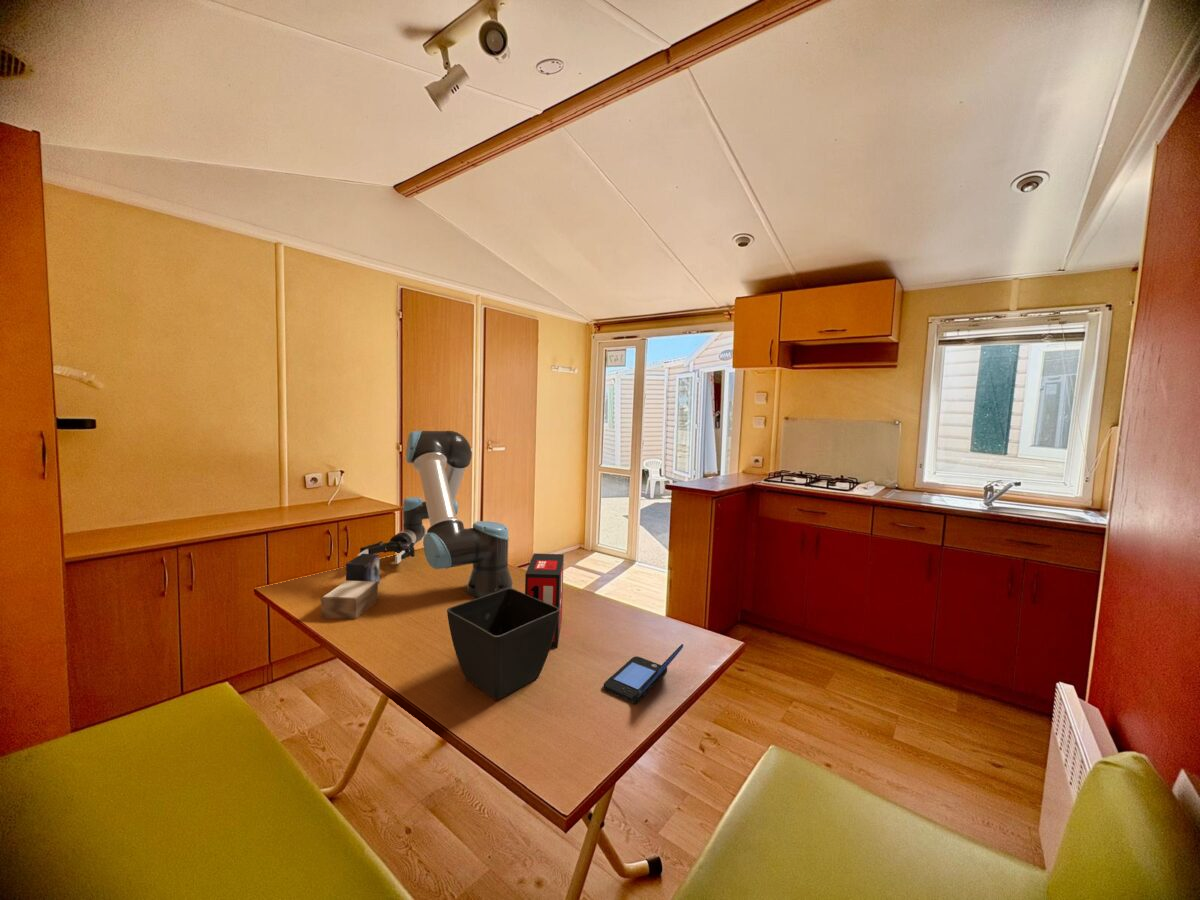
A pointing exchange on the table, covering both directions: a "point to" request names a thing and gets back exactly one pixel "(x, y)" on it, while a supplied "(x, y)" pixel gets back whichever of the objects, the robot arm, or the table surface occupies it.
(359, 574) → the small box
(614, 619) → the table surface
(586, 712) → the table surface
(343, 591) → the base
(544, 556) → the cleaning product box
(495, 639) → the flower pot
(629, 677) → the black walkie-talkie
